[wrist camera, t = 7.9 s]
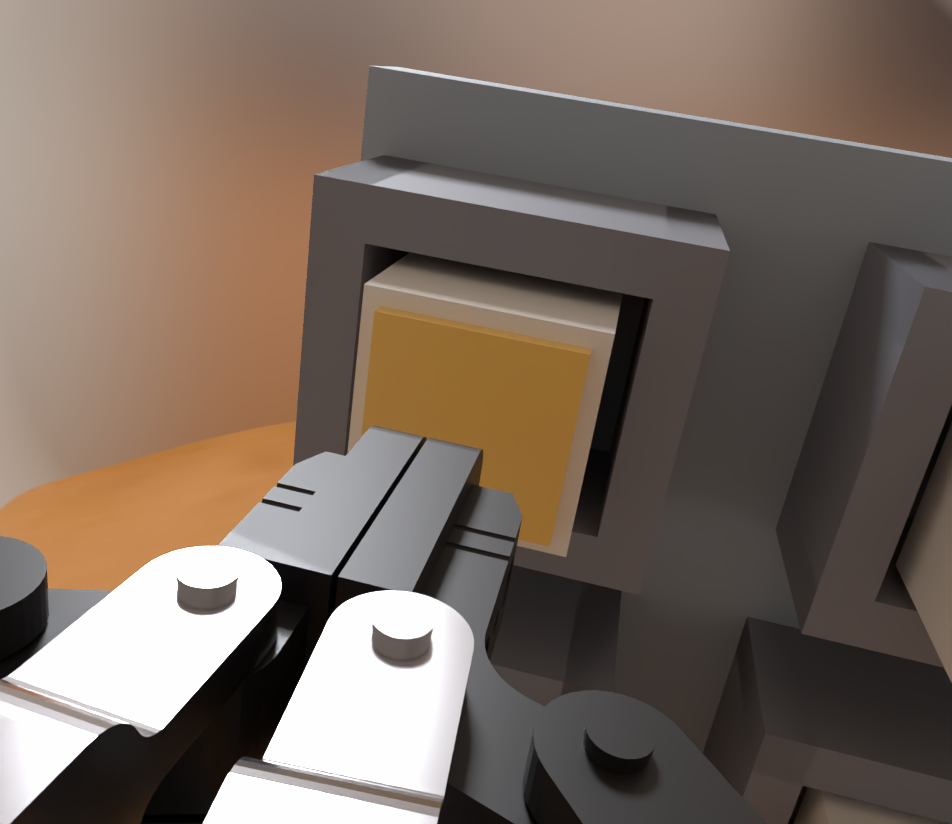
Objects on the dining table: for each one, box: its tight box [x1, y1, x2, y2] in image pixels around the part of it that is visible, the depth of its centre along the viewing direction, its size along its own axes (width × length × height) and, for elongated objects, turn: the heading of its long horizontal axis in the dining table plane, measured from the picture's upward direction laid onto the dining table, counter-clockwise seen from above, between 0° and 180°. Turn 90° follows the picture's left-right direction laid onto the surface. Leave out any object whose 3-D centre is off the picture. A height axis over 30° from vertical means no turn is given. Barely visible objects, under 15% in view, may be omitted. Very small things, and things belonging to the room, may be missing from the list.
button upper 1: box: [347, 252, 623, 557], centre depth 16 cm, size 4×5×4 cm
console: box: [293, 66, 952, 824], centre depth 22 cm, size 18×10×24 cm, turn 78°
